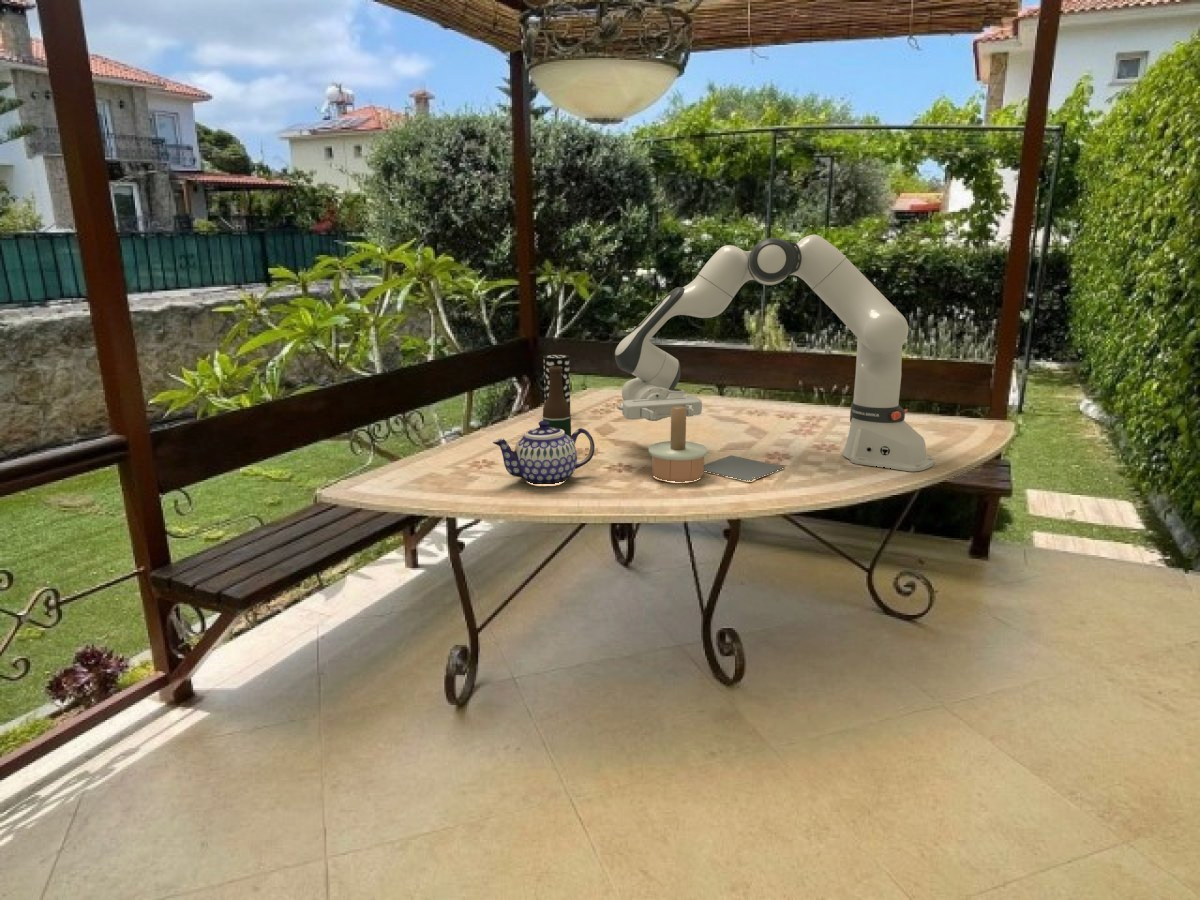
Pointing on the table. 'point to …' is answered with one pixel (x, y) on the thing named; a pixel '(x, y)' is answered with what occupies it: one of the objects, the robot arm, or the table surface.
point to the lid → (678, 441)
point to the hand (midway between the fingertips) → (672, 414)
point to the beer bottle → (557, 403)
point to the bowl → (678, 469)
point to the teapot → (544, 454)
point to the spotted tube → (564, 363)
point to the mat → (740, 468)
